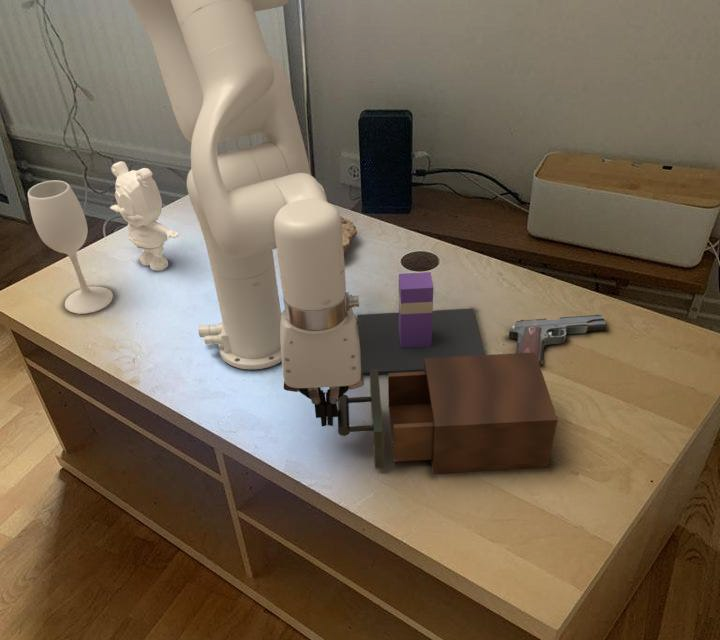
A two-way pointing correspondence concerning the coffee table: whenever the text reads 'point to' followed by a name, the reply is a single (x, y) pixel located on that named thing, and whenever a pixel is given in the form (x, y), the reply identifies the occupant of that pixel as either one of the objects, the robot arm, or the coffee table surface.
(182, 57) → the robot arm
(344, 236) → the rock
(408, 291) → the snack box
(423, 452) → the drawer
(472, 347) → the mat
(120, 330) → the coffee table surface
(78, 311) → the wineglass
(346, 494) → the coffee table surface
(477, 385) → the cabinet
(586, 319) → the handgun
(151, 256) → the white cartoon figurine
